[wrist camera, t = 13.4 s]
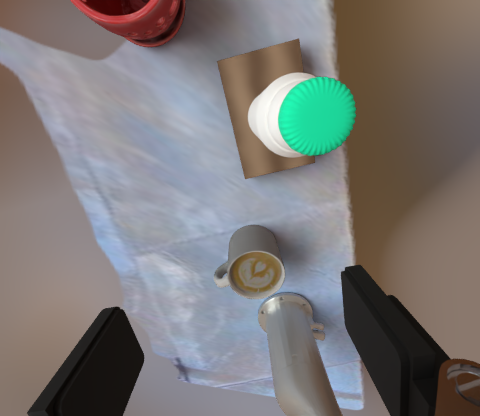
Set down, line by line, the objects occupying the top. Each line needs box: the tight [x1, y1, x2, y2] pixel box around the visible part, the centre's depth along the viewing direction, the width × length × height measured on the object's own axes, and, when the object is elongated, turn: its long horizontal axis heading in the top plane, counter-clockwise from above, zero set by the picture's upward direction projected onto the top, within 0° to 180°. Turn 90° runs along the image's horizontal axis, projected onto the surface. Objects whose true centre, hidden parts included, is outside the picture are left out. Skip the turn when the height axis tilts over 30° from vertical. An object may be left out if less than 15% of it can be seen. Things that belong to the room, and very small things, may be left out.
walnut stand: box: [217, 39, 315, 179], centre depth 40 cm, size 12×18×4 cm, turn 13°
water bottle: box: [248, 73, 356, 158], centre depth 26 cm, size 7×7×25 cm
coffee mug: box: [214, 225, 285, 299], centre depth 46 cm, size 13×10×10 cm
